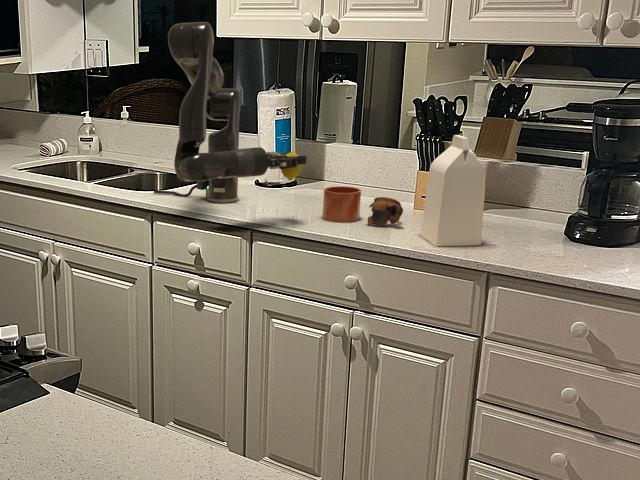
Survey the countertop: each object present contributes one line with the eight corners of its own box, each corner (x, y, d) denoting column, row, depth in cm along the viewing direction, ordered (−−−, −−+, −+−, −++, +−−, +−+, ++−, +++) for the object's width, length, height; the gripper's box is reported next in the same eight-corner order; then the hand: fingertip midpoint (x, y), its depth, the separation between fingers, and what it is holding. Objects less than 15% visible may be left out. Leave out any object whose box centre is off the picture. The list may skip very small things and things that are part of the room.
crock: (314, 217, 265) (316, 189, 262) (340, 212, 271) (341, 185, 268) (341, 223, 257) (343, 194, 255) (366, 218, 263) (368, 190, 260)
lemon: (299, 183, 255) (301, 153, 252) (279, 182, 256) (280, 152, 253) (301, 179, 260) (302, 150, 257) (281, 178, 261) (282, 149, 258)
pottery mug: (357, 224, 258) (364, 196, 259) (381, 236, 263) (388, 208, 264) (387, 221, 248) (395, 192, 248) (412, 233, 252) (420, 205, 253)
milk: (420, 235, 245) (429, 133, 235) (462, 233, 245) (474, 133, 236) (436, 246, 234) (446, 140, 224) (480, 245, 234) (493, 139, 225)
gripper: (261, 152, 242) (315, 147, 249) (233, 144, 254) (285, 140, 261) (260, 181, 245) (313, 175, 252) (232, 172, 257) (284, 167, 264)
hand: (299, 158), depth 257 cm, fingers closed on lemon, 5 cm apart
